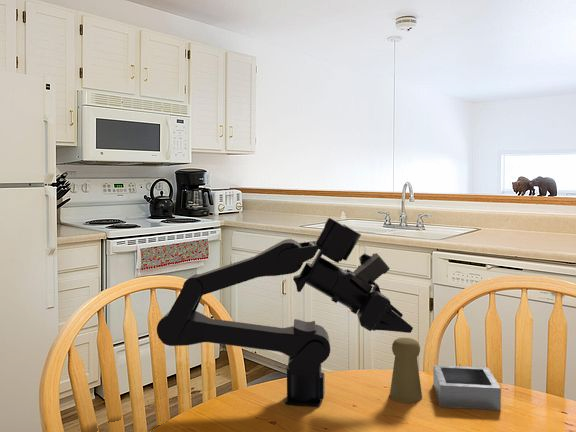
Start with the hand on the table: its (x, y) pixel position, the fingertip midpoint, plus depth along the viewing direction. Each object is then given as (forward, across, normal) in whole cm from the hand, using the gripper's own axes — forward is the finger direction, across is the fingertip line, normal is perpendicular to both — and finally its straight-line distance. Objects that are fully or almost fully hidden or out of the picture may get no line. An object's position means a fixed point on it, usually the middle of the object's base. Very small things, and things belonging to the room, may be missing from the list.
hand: (406, 323), depth 96 cm
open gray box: (+17, +1, +7) cm, 18 cm away
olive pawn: (+8, +2, +12) cm, 15 cm away
